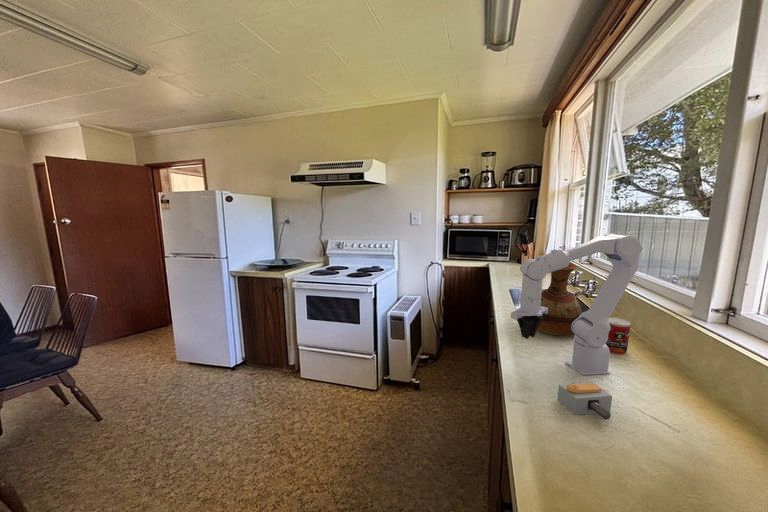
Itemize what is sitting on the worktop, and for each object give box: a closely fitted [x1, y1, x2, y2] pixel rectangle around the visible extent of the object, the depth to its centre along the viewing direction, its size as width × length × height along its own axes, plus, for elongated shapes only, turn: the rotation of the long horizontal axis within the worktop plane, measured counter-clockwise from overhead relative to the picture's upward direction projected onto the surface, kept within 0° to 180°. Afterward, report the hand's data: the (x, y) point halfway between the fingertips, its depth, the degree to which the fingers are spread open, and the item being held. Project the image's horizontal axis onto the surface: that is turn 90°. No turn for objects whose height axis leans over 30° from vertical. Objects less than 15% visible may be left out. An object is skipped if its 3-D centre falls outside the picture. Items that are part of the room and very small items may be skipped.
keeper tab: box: [567, 382, 603, 393], centre depth 76 cm, size 8×3×1 cm, turn 96°
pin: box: [588, 400, 612, 421], centre depth 75 cm, size 11×3×3 cm, turn 6°
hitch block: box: [556, 381, 613, 416], centre depth 77 cm, size 10×6×5 cm, turn 96°
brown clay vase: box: [537, 262, 583, 336], centre depth 124 cm, size 20×20×30 cm
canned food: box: [606, 316, 631, 355], centre depth 108 cm, size 8×8×11 cm
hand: (527, 336), depth 96 cm, fingers closed
